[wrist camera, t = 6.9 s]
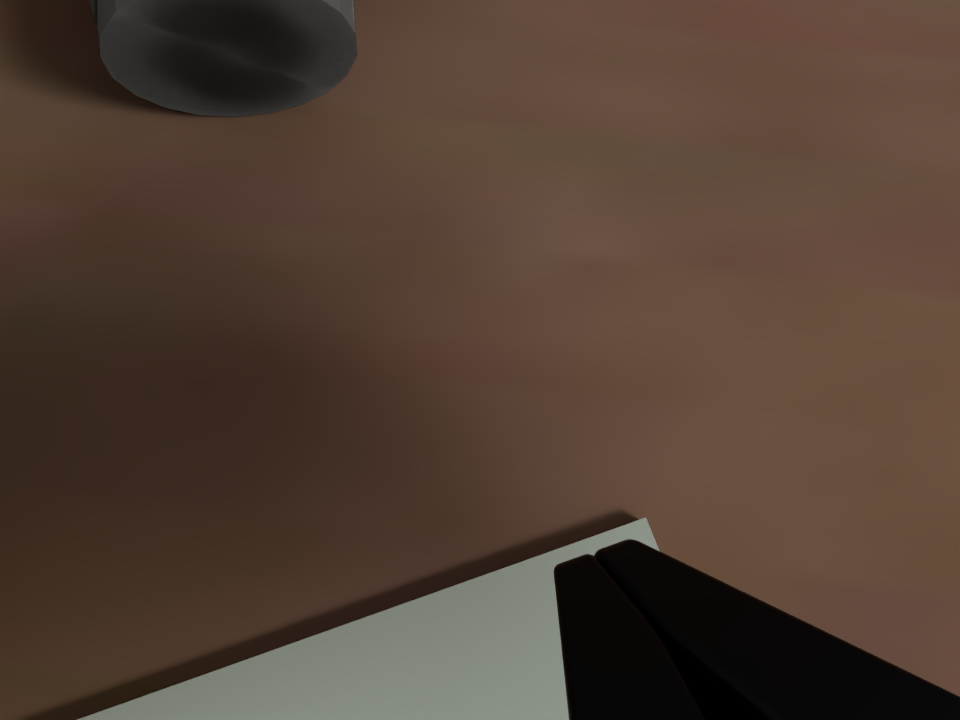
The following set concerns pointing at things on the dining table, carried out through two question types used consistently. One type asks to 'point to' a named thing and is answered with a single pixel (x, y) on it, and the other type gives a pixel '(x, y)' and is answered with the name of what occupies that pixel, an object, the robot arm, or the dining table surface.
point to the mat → (407, 658)
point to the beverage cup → (226, 51)
